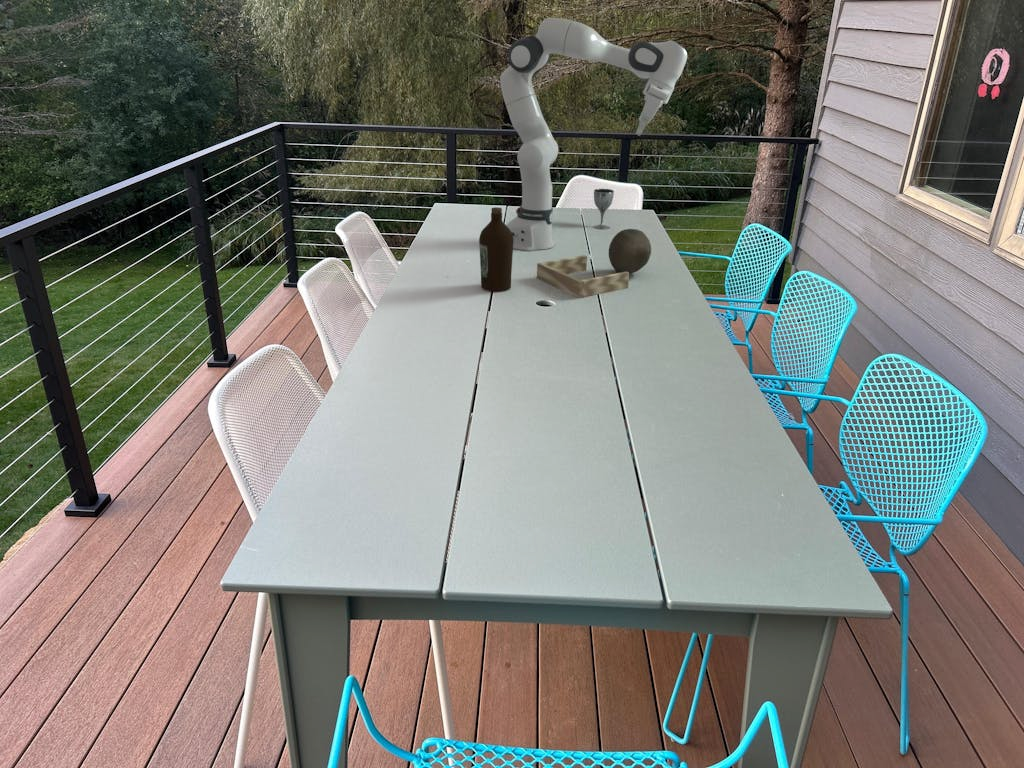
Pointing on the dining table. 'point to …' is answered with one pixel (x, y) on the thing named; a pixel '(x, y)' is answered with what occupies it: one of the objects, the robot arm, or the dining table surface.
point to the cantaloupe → (629, 251)
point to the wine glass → (603, 203)
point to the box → (559, 278)
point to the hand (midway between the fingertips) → (638, 134)
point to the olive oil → (496, 254)
